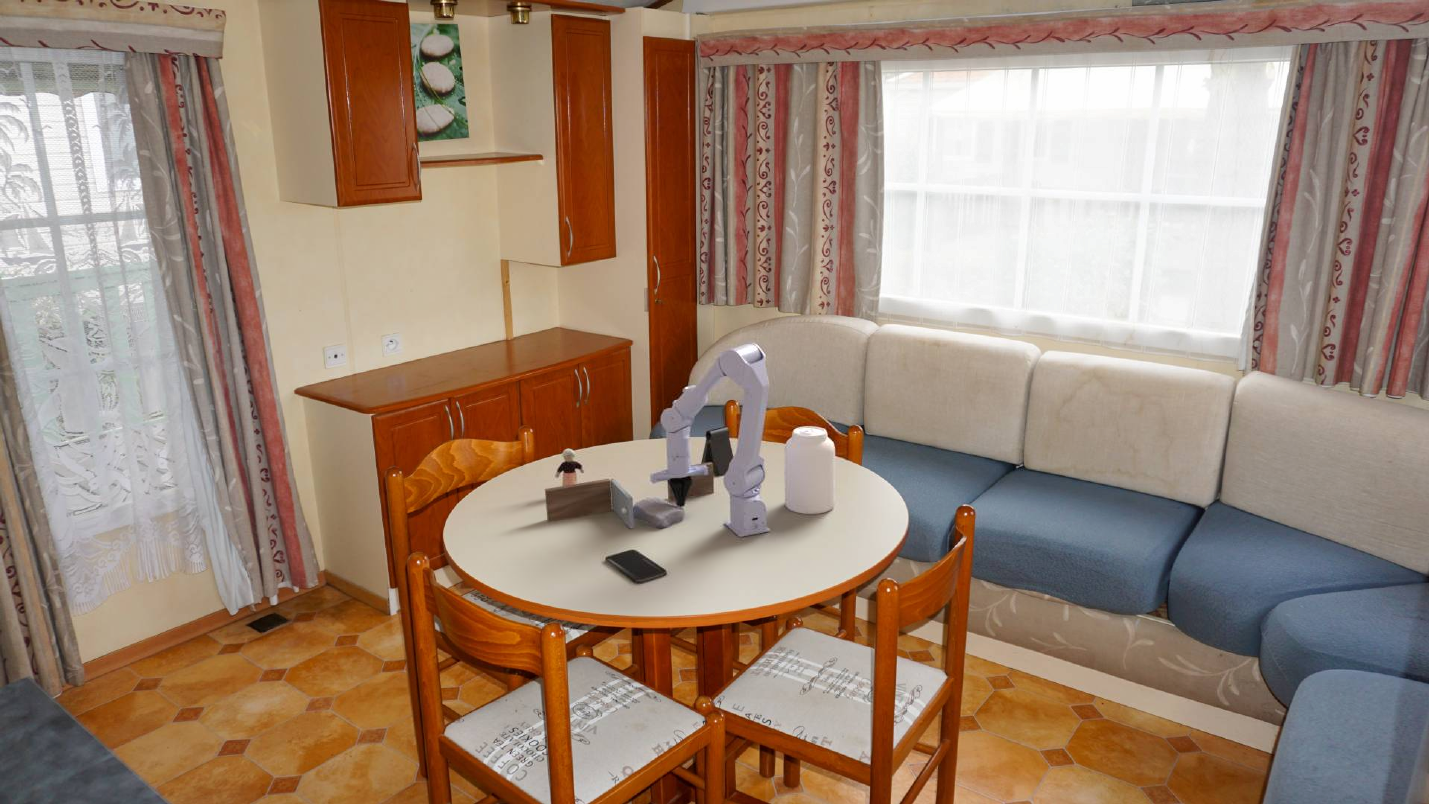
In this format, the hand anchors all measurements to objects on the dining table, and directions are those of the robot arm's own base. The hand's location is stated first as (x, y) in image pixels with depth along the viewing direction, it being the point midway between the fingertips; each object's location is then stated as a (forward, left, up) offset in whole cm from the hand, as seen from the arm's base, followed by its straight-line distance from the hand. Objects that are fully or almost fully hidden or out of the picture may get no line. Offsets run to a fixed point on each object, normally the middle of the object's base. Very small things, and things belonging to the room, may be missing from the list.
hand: (680, 505), depth 246 cm
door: (+2, +15, -1) cm, 15 cm away
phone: (-26, +20, -2) cm, 33 cm away
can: (-11, -31, -2) cm, 32 cm away
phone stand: (+24, -21, -2) cm, 32 cm away
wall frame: (+9, +9, -2) cm, 13 cm away
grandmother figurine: (+24, +21, -2) cm, 32 cm away
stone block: (-2, +6, -2) cm, 6 cm away
